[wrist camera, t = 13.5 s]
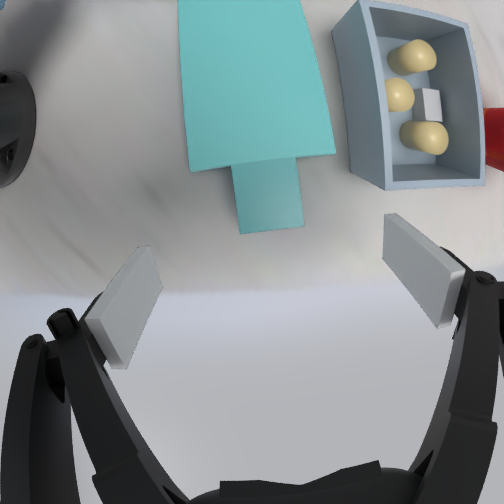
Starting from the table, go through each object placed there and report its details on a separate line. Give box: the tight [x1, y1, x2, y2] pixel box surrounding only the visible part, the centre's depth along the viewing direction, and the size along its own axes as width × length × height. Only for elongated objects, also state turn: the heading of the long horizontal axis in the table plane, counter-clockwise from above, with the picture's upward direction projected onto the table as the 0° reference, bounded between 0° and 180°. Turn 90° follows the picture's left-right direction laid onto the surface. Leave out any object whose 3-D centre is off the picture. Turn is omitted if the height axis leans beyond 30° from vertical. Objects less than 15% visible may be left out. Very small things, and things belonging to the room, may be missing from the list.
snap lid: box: [178, 0, 336, 234], centre depth 22 cm, size 23×11×6 cm, turn 8°
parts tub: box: [331, 0, 485, 191], centre depth 18 cm, size 14×10×8 cm
